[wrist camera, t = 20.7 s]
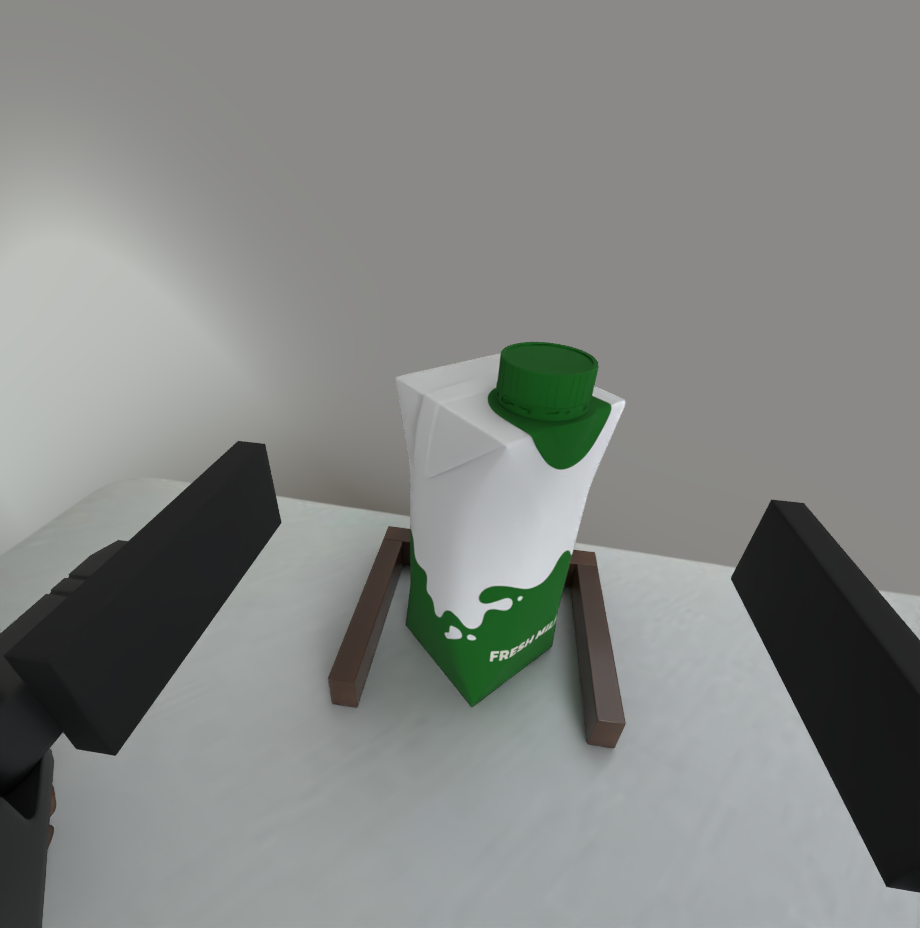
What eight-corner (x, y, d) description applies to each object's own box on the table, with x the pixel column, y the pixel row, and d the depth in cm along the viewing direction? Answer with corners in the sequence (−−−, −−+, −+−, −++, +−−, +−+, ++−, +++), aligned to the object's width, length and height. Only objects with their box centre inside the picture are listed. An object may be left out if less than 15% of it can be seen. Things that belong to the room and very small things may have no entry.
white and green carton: (469, 730, 25) (511, 401, 15) (385, 621, 31) (372, 328, 21) (572, 649, 30) (659, 356, 20) (483, 567, 36) (512, 307, 25)
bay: (588, 575, 36) (595, 552, 35) (614, 748, 25) (626, 724, 24) (389, 549, 37) (388, 525, 36) (331, 704, 26) (327, 678, 25)
